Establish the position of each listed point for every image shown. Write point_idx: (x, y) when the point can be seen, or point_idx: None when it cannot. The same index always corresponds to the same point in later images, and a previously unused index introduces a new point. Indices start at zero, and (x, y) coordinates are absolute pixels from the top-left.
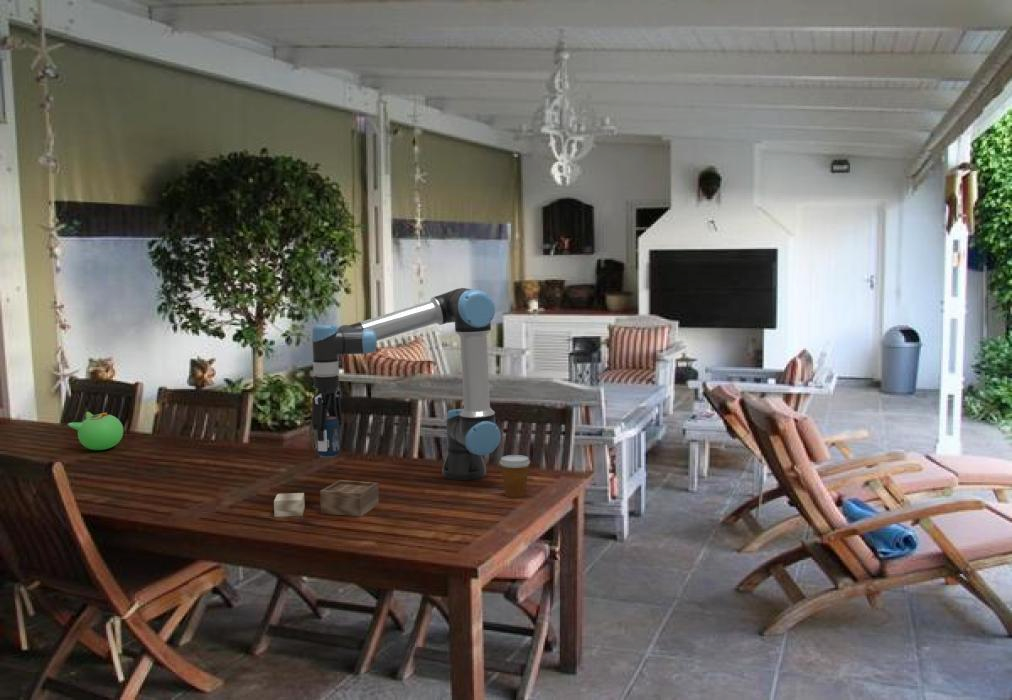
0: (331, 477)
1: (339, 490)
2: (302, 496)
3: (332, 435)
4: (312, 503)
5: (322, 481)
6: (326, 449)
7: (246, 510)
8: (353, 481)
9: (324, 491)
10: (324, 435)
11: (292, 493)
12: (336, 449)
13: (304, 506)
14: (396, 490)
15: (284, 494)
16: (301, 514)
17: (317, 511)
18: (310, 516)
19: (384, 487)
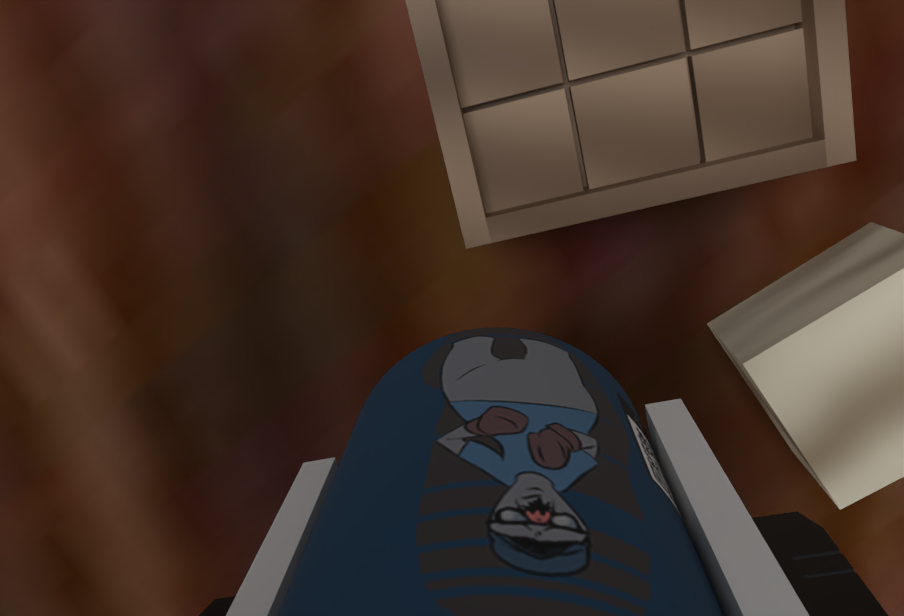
0: (81, 603)
1: (681, 73)
2: (841, 308)
3: (607, 481)
4: (593, 349)
5: (176, 595)
6: (669, 413)
7: (884, 583)
8: (446, 101)
9: (852, 114)
10: (773, 568)
11: (792, 425)
12: (515, 342)
13: (719, 323)
14: (28, 37)
15: (837, 457)
16: (877, 227)
17: (740, 196)
18: (866, 158)
19: (29, 172)
